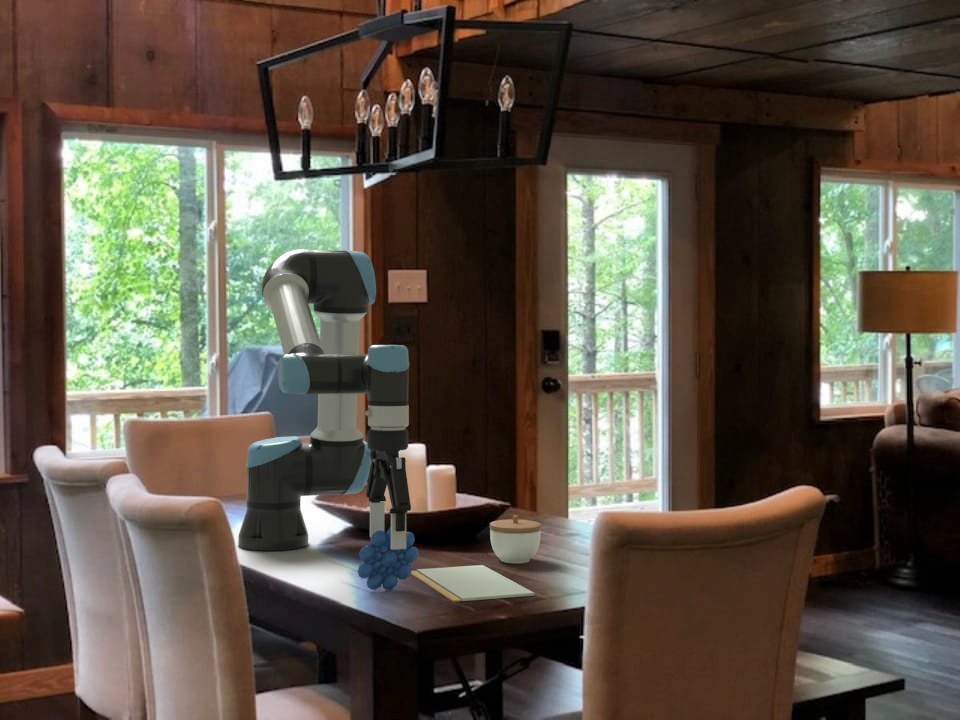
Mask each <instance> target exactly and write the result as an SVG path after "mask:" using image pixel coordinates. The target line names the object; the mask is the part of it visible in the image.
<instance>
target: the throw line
mask: <svg viewBox="0 0 960 720" xmlns="http://www.w3.org/2000/svg"><path fill="white" fill-rule="evenodd" d="M410 576H413V577H414V578H416V579H417V580H419V581H421V582H422V583H424V584H425V585H426V586H428V587H430V588H431V589H433V590H435V592H437V593H439V594H440V595H442V596H444V598H447V599H448V600H449V601H451V602H453V603H454V602H457V603H458V602H462V601H461V599H459V598H458V597H456V596H455V595H453V594H451V593H450V592H448V591H447V590H445V589H444V588H442V587H440V586H439V585H437V584H436V583H434V582H433V581H431V580H430V579H428V578H426V577H425V576H423V575H422V574H420V573H419V572H417V570H412V572H411V574H410Z"/></svg>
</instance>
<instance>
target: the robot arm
mask: <svg viewBox="0 0 960 720" xmlns="http://www.w3.org/2000/svg"><path fill="white" fill-rule="evenodd" d="M376 285H377V284H376V276H375V270H374V265H373V262H372V260H371V259H370V257H369V255H367V253H365V252H363V251H359V250H358V251H356V250H348V249H346V250H343V249H333V250H331V249H306V248H305V249H295V250H294V249H293V250H291V251H288V252H285V253H283V254H282V255H281V256H279V257H278V258H276V259H275V260H274V261H273V262H272V263H271V264H270V265H269V267H268V268H267V269H266V272H265V273H264V275H263V278H262V282H261V293H262V297H263V301H264V303H265V305H266V306H267V308H268V309H270V310H271V312H272V316H273V319H274V323H275V327H276V331H277V333H278V337H279V341H280V345H281V348H282V352H283V355H280V358H279V359H278V363H277V364H278V365H277V379H278V387H279V389H280V391H281V392H282V393H284V394H289V395H299V396H304V395H317V398H318V399H317V401H318V402H317V426H316V428H315V429H313V431H311V433H310V439H309V440H310V441H309V442H302V440H301V437H299V436H294V435H293V436H280V437H271V438H266V439H261V440H258V441H255V442H253V443H252V444H250V445H249V446H248V447H247V448H248V449H247V454H246V464H245V468H246V512H245V514H244V518H243V520H242V524H241V526H240V530H239V533H238V539H237V543H238V544H237V545H238V547H240V548H242V549H246V550H252V551H253V550H254V551H268V552H269V551H271V552H272V551H273V552H274V551H288V550H295V549H301V548H304V547H306V546H308V545H309V532H308V530H307V525H306V522H305V519H304V515H303V514H302V509H301V498H302V497H304V496H305V497H306V496H336V495H339V496H345V495H351V494H352V495H353V494H355V495H356V494H358V493H361V491H363V489H364V488H365V486H367V487H366V491H365V492H366V493H365V495H366V498H368V501H369V537H370V538H371V537H372V535H373V534H374V533H375V532H376V531H384V532H385V521H386V520H385V512H386V510H385V508H386V507H385V506H386V505H385V503H386V502H387V498H386V495H385V493H386V490H387V491H388V495H389V499H390V504H391V508H390V509H389V512H388V513H389V515H390V527H391V549H392V550H393V549H406V532H407V513H408V511H411V510H412V506H411V504H412V503H411V499H410V492H409V485H408V477H407V471H406V470H407V469H406V468H407V467H406V465H407V464H406V463H407V462H406V458H405V457H404V456H403V457H400V451H406V450H408V448H409V431H408V429H406V428H407V427H408V426H409V424H410V422H409V421H410V419H409V417H410V412H409V410H410V408H409V407H410V406H409V381H410V380H409V373H410V372H409V370H410V359H409V349H408V348H407V346H406V345H403V344H401V345H399V344H372V345H370V346H369V347H368V351H367V353H366V354H363V353H362V354H360V353H359V352H360V321H361V319H363V318H364V317H365V316H366V315H367V313H368V306H371V305H373V304H374V303H375V302H376V296H377V286H376ZM309 304H313V313H314V314H315V315H316V316H317V317H318V318H319V321H320V323H319V324H320V325H319V332H318V328H317V326H316V323H315V320H314V316H313V314H312V311H311V310H312V309H311V308H310V305H309ZM359 394H360V395H361V394H363V395H364V394H367V405H368V406H367V410H365V412H364V414H365V416H367V425H368V427H370V429H368V430H367V441H365V440H364V434H363V433H362V432H361V431H360V430H359V429H358V427H357V422H358V421H357V420H358V419H357V418H358V395H359Z"/></svg>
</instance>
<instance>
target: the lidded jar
mask: <svg viewBox="0 0 960 720" xmlns="http://www.w3.org/2000/svg"><path fill="white" fill-rule="evenodd" d="M489 529H490V530H489V535H490V537H489V539H490V544H491V548H492V550H493V552H494V554H495V555H496V556H497V558H499V560H500V562H502V563H507V564H525V563H527V564H528V563H529V562H530V561H531V559H532V558H533V557H534V556H535V555H536V553H537V552H538V550H539V547H540V543H541V536H542V535H541V534H542V533H541V532H542V531H541V530H542V524H541V522H539V521H535V520H529V519H519V516H518V515H515V514H514V515H512V518H511V519H509V518H508V519H498V520H494V521H491V522H489Z"/></svg>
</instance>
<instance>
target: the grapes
mask: <svg viewBox="0 0 960 720" xmlns="http://www.w3.org/2000/svg"><path fill="white" fill-rule="evenodd" d="M414 543H415V536H414V533H413V532H412V531H406V549H393V550H392V549H391V526H390V527H389V528H388V529H387V531H385V530H384V531H376V532H375V533H374V534H373V535H372V537H370V544H366V545H364V546H363V547H362V548H361V549H360V550H359V552H358V553H359V554H358V555H359V559H360V561H362V563H361V564H360V565H359V566H358V568H357V575H358V577H359V578H361V579H367V580H366V586H367V588H368V589H369V590H377V589H379V588H380V587H381V586H382V589H384V590H385V591H391V590H393V589H394V588H396V587H397V584H398V582H399V580H406V579H408V578H409V577H410V576H411V572H412V571H413V569H412V566H411V564H412V563H414V562H416V560H417V559H418V558H419V551H418V548H417V547H416V546H413V544H414Z"/></svg>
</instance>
